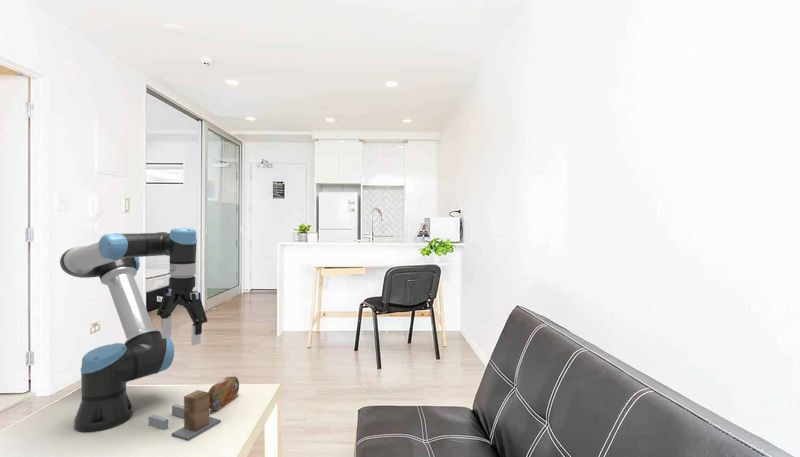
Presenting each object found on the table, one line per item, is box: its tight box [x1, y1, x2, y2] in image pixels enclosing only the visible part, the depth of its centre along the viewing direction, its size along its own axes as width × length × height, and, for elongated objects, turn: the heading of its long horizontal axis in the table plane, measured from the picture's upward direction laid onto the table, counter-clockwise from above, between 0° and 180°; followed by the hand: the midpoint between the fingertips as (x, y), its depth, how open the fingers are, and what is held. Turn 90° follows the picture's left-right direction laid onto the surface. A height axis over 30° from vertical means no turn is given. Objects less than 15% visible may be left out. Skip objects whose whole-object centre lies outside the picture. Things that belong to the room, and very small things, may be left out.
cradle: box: [148, 403, 184, 431], centre depth 128 cm, size 7×10×3 cm
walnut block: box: [183, 389, 210, 432], centre depth 124 cm, size 5×5×10 cm
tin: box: [207, 375, 240, 411], centre depth 141 cm, size 15×3×8 cm, turn 168°
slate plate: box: [171, 416, 222, 442], centre depth 124 cm, size 7×12×1 cm, turn 157°
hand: (180, 340), depth 129 cm, fingers open, 13 cm apart
